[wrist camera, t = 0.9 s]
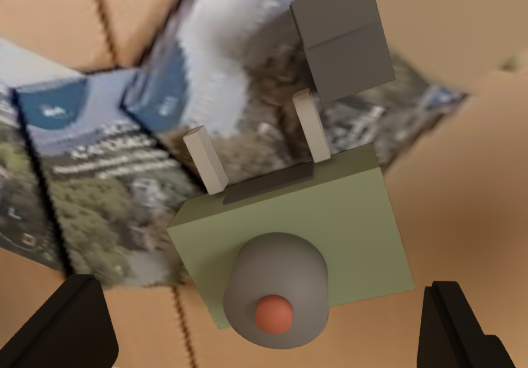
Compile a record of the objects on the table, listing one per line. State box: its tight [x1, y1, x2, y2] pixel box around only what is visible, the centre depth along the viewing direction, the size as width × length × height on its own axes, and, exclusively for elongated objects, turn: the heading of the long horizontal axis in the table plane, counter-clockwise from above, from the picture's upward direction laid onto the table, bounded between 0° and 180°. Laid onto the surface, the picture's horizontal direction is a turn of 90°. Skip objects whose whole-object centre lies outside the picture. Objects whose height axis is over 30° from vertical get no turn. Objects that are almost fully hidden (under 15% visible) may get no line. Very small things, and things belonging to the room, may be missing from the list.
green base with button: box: [166, 87, 416, 349], centre depth 28 cm, size 16×16×10 cm
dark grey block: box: [289, 0, 396, 105], centre depth 24 cm, size 4×6×7 cm
